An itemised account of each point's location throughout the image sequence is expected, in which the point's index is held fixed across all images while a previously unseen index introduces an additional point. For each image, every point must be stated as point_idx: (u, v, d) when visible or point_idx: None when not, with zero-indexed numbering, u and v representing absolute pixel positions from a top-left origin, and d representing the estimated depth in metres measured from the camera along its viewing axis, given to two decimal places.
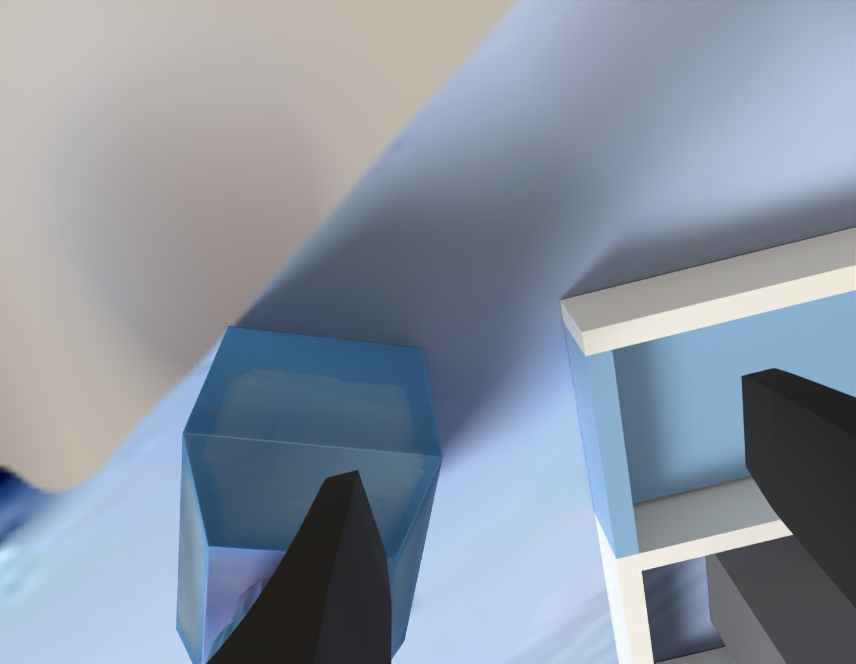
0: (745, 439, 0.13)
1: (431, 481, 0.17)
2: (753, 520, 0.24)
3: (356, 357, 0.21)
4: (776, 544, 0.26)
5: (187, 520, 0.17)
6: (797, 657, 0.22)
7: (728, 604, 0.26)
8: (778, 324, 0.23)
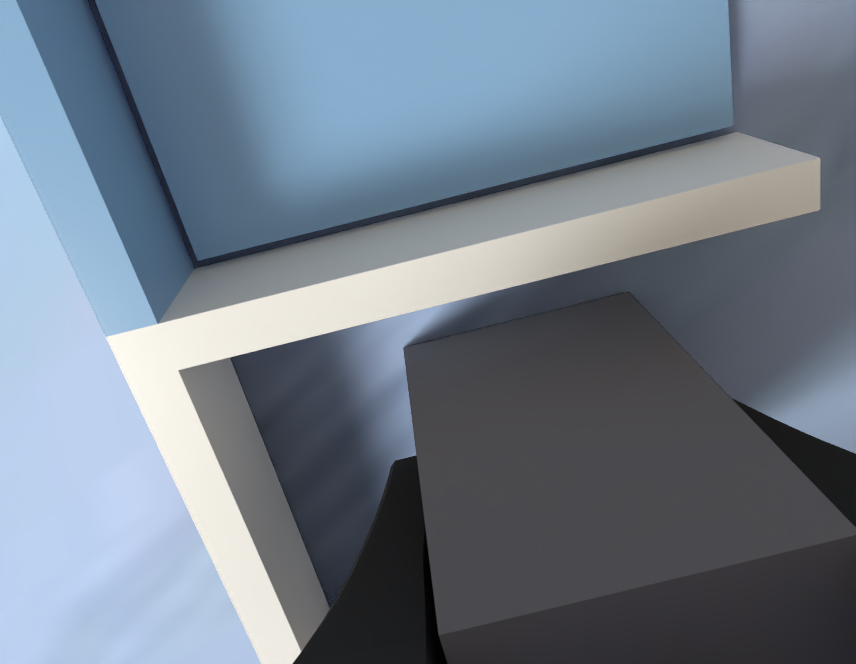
0: None
1: None
2: (426, 251, 0.11)
3: None
4: (527, 345, 0.13)
5: None
6: (462, 543, 0.08)
7: None
8: None
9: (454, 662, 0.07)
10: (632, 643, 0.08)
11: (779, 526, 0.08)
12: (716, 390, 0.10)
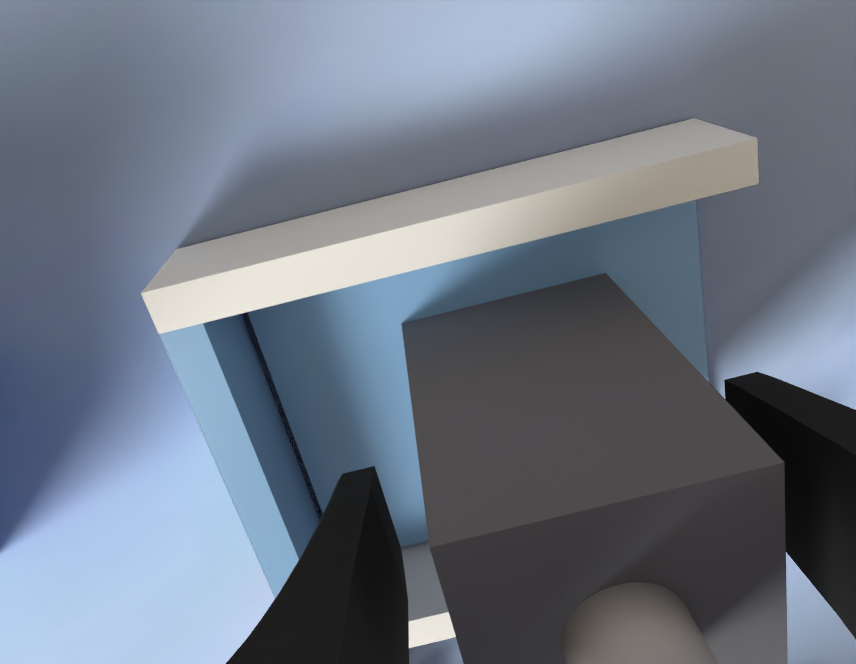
0: None
1: None
2: None
3: None
4: (513, 319, 0.14)
5: None
6: (452, 477, 0.10)
7: None
8: (532, 288, 0.15)
9: (442, 571, 0.09)
10: (593, 556, 0.09)
11: (717, 458, 0.09)
12: (675, 353, 0.11)
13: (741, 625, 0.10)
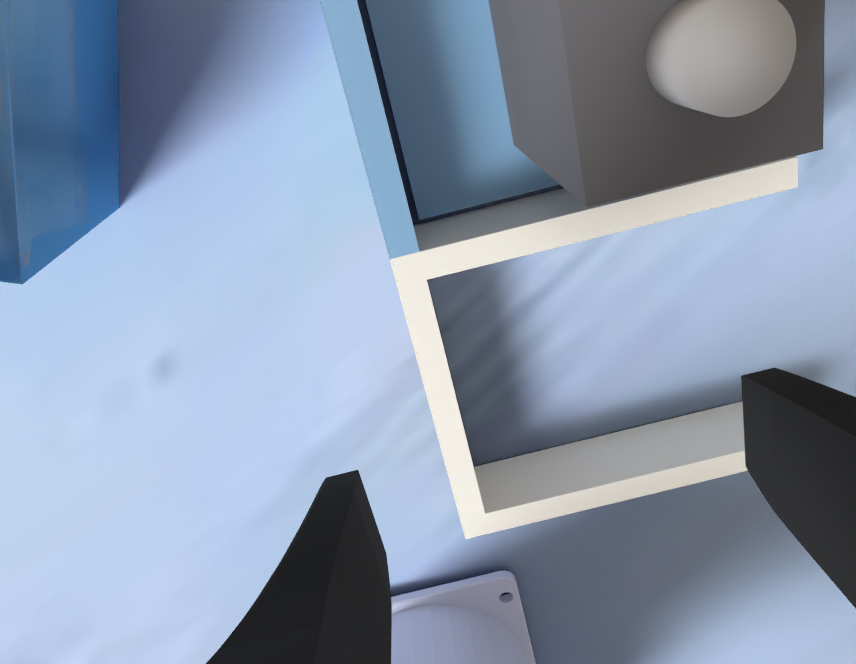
0: (745, 438, 0.13)
1: None
2: (571, 210, 0.18)
3: None
4: None
5: None
6: None
7: (508, 36, 0.17)
8: None
9: None
10: None
11: None
12: None
13: None
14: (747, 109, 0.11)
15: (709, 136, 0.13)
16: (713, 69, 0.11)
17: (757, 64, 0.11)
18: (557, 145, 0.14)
